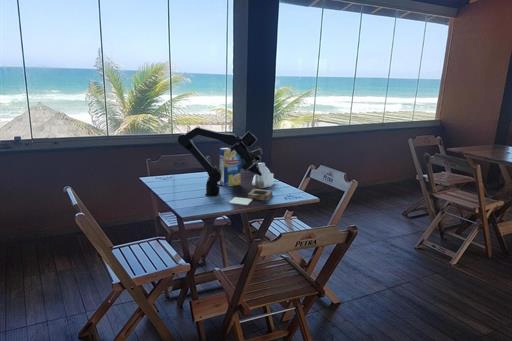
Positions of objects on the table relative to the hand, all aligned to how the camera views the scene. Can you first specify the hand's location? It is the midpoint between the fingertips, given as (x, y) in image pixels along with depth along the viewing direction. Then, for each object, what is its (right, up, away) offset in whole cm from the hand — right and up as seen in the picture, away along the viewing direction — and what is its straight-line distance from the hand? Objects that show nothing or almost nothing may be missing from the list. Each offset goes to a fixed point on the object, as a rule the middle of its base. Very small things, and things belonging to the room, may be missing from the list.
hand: (262, 174), depth 202 cm
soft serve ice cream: (+1, -7, +28) cm, 29 cm away
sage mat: (-11, -14, -5) cm, 19 cm away
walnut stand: (-1, -12, +4) cm, 13 cm away
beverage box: (-20, -6, +27) cm, 34 cm away
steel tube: (-2, -6, +2) cm, 7 cm away
